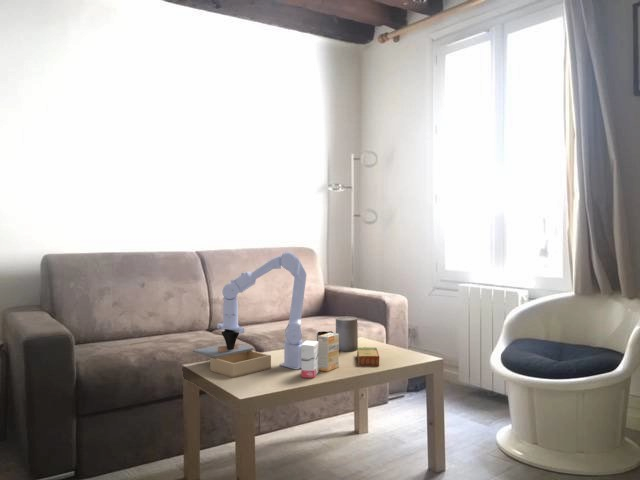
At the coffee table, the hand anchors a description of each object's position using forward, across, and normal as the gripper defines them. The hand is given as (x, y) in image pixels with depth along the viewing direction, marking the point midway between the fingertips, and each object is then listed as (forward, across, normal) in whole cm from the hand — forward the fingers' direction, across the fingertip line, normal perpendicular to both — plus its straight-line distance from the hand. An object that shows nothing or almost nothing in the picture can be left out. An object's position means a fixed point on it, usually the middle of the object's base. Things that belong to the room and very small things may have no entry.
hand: (230, 349), depth 215 cm
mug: (+7, +19, +33) cm, 39 cm away
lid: (+1, -5, 0) cm, 5 cm away
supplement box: (+7, +29, +24) cm, 38 cm away
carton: (+7, +32, +44) cm, 55 cm away
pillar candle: (+7, +12, +54) cm, 56 cm away
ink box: (+7, +30, +13) cm, 34 cm away
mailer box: (+7, +6, 0) cm, 9 cm away
